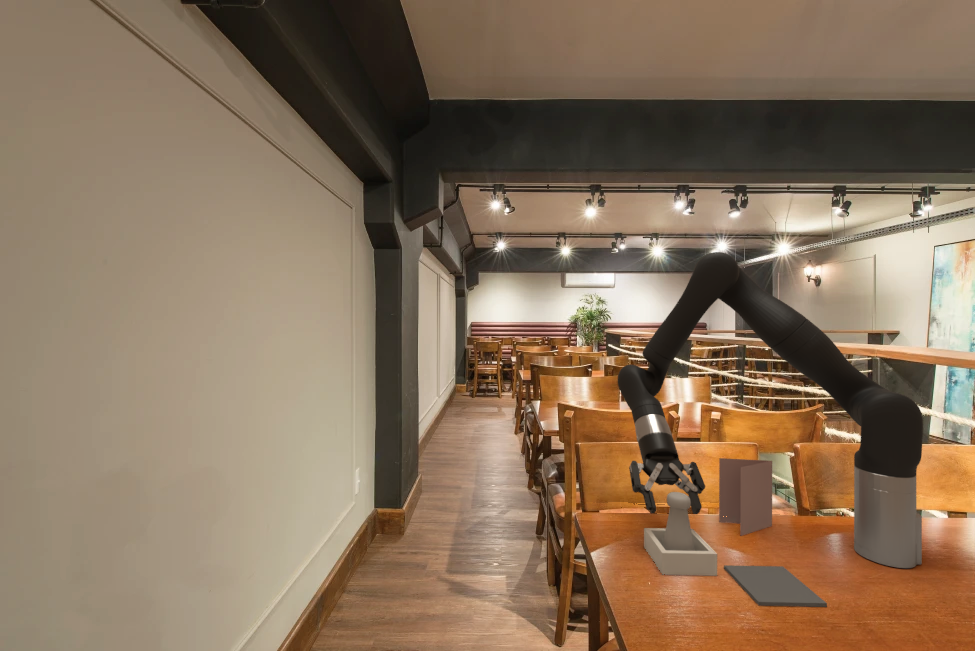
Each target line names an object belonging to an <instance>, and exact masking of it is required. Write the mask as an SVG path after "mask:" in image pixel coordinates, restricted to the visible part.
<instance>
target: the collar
mask: <svg viewBox="0 0 975 651" xmlns="http://www.w3.org/2000/svg"><path fill="white" fill-rule="evenodd" d="M665 530H666V527H662V528H661V527H659V528H658V527H644V528H643V548H644V550H645V549H646V550H645V551H646V553H647V552H648V553H647V554H648V556H649V555H650V556H651V557H650V556H649V557H650V558H652V559H653V560H652V559H651V560H652V562H653V561H654V562H655V563H654V562H653V563H654V565H655V564H656V565H655V566H656V567H658V568H657V569H658V570H660V571H659V572H660V574H661V573H662V574H661V575H662V576H664V574H665V576H710V577H711V576H712V577H713V576H714V577H715V576H716V577H717V576H718V553H717V552H716V551H715V550H714V549H713V548H712V547H711V546H710V544H708V542H706V541H705V540H704V539H703V537H701V536H700V534H699V533H698V532H696V530H695V529H693V528H691V533H692V538H693V543H694V549H695V551H676V550H665V549H664V547H663V540H664V535H665Z"/></svg>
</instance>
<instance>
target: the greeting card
mask: <svg viewBox="0 0 975 651" xmlns="http://www.w3.org/2000/svg"><path fill="white" fill-rule="evenodd" d="M718 462H719V466H718V467H719V469H718V470H719V471H718V472H719V473H718V474H719V475H718V476H719V477H718V478H719V480H718V481H719V483H718V484H719V487H718V489H719V492H718V493H719V495H718V499H719V500H718V502H719V504H718V506H719V507H718V513H719V514H718V516H719V517H718V519H719V520H718V522H719V523H722V524H723V523H727V524H740V528H739V529H740V530H739V532H740V537H742V536H746V535H749V534H751V533H755V532H758V531H760V530H763V529H766V528H769V527H772V526H773V460H766V459H763V460H761V459H745V458H744V459H743V458H741V459H740V458H725V457H724V458H719V461H718ZM723 516H724V517H723ZM726 516H727V517H726Z"/></svg>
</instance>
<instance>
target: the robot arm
mask: <svg viewBox="0 0 975 651" xmlns="http://www.w3.org/2000/svg"><path fill="white" fill-rule="evenodd" d="M689 278H690V279H689V280H688V283H687V285H686V287H685V289H684V291H683V292H682V295H680V297H679V299H678V301H677V302H676V304H675V306H674V307H673V308H672V310H671V311H670V313H668V315H667V316H666V318H665V319H663V320H664V321H662V323H661V324H660V326H659V327H658V328H657V330H656V331H655V333H654V334H653V335H652V336H651V338H650V339H649V341H648V342H647V344H646V345H645V347H644V348H643V351H642V357H643V358H644V359H645V360H646V361H647V362H648V363H649V365H648V367H647V369H645V368H642V367H640V366H639V365H638V366H637V365H635V364H627V365H625V366H622V367H621V369H620V370H619V372H618V374H617V386H618V388H619V391H620V393H621V395H622V397H623V399H624V401H625V402H626V404H627V406H628V408H629V409H630V411H631V415H632V420H633V422H634V427H635V430H634V431H635V434H636V435H635V436H636V441H637V444H638V447H639V452H640V457H641V460H642V463H639V462H637V460H632V461H631V463H630V465H629V467H628V468H629V469H628V470H629V475H630V482H631V488H632V492H633V493H639V494H641V495H642V496H643V501H644V503H645V507H646V511H649V513H650V514H655V513H656V511H657V504H656V501H655V498H654V497H655V496H654V492H653V490H651V489H652V487H653V485H654V484H656V485H658V486H664V485H667V486H674V485H675V487H677V488H679V489H680V490H682V491H683V492H685V494H686V495H687V496H688V497H689V498H690V501H691V506H690V508H691V511H692V515H699V514H700V512H701V510H702V503H701V500H700V496H699V495H700V494H702V492H703V491H704V490H705V489H706V484H705V481H704V480H703V477H702V474H701V472H700V469H699V467H698V464H697V462H695V461H691V462H690V463H682V462H681V461H680V458H679V457H680V456H679V453H678V450H677V447H676V443H675V440H674V437H673V434H672V431H671V428H670V426H669V423H668V421H667V419H666V415H665V412H664V409H663V406H662V403H661V402H660V400H658V398H656V397H655V396H657V395H658V394H659V393H660V391H661V389H662V387H663V384H664V382H665V380H666V377H667V373H668V372H669V367H670V365H671V364H672V362H673V361H674V360H675V358H676V357H677V355H678V354H679V353H680V351H681V350H682V349H683V347H684V346H685V344H686V342H687V341H688V339H689V338H690V336H691V335H692V333H693V332H694V330H695V328H696V327H697V325H698V323H699V321H700V320H701V319H702V318H703V316H704V315H705V314H706V313H707V311H708V310H709V309H710V307H711V306H712V305H713V304H714V303H715V302H716V301H717V300H720V301H722V302H723V303H724V304H726V306H728V307H730V308H731V309H732V310H733V311H735V313H737V314H738V316H740V317H741V318H742V320H743V321H744V322H745V323H746V325H747V326H748V327H749V328H750V329H751V330H752V331H753V333H755V335H756V336H757V337H758V338H759V339H760V340H761V341H762V342H763V343H765V345H766V346H767V347H769V348H770V349H771V350H772V351H773V352H775V353H776V354H777V355H778V356H779V357H780V358H782V359H783V360H784V361H785V362H786V363H788V364H789V365H790V366H791V367H793V369H795V370H797V371H798V372H800V373H801V374H803V376H804V377H806V378H808V379H810V380H811V381H812V382H813V383H815V384H816V385H818V386H819V387H820V388H822V389H823V390H824V391H825V392H826V393H827V394H829V396H830V397H831V398H832V399H833V400H834V401H835V402H836V403H837V404H838V405H839V406H840V407H841V408H842V409H843V410H844V411H845V412H846V414H847V415H848V416H850V418H851V419H852V420H853V421H854V422H855V423H856V424H857V425H858V426H860V442H859V443H860V446H859V448H858V450H856V451H855V452H854V458H853V463H854V464H853V470H854V471H853V478H854V479H853V480H854V484H853V486H854V488H853V490H854V491H853V496H854V498H853V502H854V504H853V506H854V508H853V509H854V510H853V526H854V527H853V550H854V551H855V552H856V553H857V554H859V555H860V556H861V557H863V558H864V559H868V561H869V560H870V561H872V562H875V563H878V564H880V565H883V566H887V567H888V566H889V567H894V568H898V569H912V568H916V566H917V565H922V564H923V563H922V560H923V559H922V558H923V557H922V556H923V555H922V554H923V546H922V545H923V541H922V540H923V538H922V536H923V526H922V524H923V516H922V515H921V514H920V513H919V512H917V472H918V466H920V463H921V460H922V454H923V440H924V439H923V438H924V437H923V435H924V422H923V421H924V420H923V415H922V414H923V413H922V411H921V409H920V407H919V405H918V404H917V403H916V401H914V400H913V399H912V398H911V397H909V396H907V395H904V394H902V393H899V392H896V391H892V390H890V389H887V388H886V387H884V386H881V385H880V384H879V383H877V382H875V381H874V380H872V379H871V378H870V377H868V376H867V375H865V373H863V372H862V371H860V370H859V369H858V368H856V367H855V366H854V365H853V364H852V363H851V362H849V361H848V359H847V357H845V355H844V354H843V353H842V352H841V351H840V349H839V347H838V346H837V345H836V344H835V343H834V342H833V341H832V339H830V337H829V336H828V335H827V334H826V333H824V331H823V330H822V329H820V328H819V327H818V326H816V325H815V324H814V323H813V322H811V320H809V319H808V318H807V317H806V316H804V315H803V314H802V313H800V312H799V311H797V310H796V309H795V308H793V307H791V306H790V305H789V304H787V303H785V302H783V301H782V300H781V299H779V298H778V297H776V296H773V294H770V293H769V292H767V291H766V290H764V289H763V288H762V287H760V286H759V285H758V284H757V283H756V282H755V281H754V280H753V279H752V278H751V277H750V276H749V275H748V274H747V273H746V272H745V271H744V270H743V269H742V268H741V267H740V266H739V264H738V262H737V261H736V259H735V257H733V256H732V255H730V254H728V253H726V252H720V251H714V252H710V253H707V254H706V255H704V256H702V257H701V258H700V259H699V260H698V261H697V262H696V263H695V265H694V268H693V272H692V274H691V276H690V277H689ZM642 471H643V472H644V473H645V475H647V476H648V477H649V478H648V480H647V481H646V483H645V484H642V482H641V477H640V474H641V472H642ZM683 471H684V472H685V473H686V474H685V473H684V472H683ZM688 476H689V477H688ZM689 478H690V479H689Z"/></svg>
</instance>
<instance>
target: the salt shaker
mask: <svg viewBox="0 0 975 651" xmlns="http://www.w3.org/2000/svg"><path fill="white" fill-rule="evenodd" d="M688 496H689V495H688V494H687V493H683V492H679V491H671V492H668V494H667V495H666V504H667V506H668V507H669V512H668V517H667V522H666V527H665V528H666V530H665V535H664V540H663V547H664V549H665V550H676V551H695V549H694V543H693V538H692V533H691V529H692V528H691V527H692V526H691V523H690V518H689V512H688V510H689V509H690V508H691V501H690V498H689V497H688Z"/></svg>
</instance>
